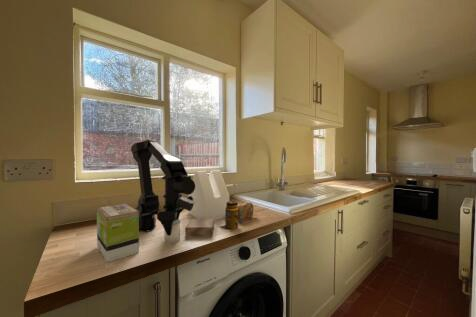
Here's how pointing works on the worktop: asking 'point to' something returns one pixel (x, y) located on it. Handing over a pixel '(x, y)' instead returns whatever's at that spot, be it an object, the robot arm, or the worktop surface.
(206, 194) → the white plastic jug
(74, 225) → the worktop surface
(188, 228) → the riser
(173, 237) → the canister
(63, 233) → the worktop surface
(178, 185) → the robot arm
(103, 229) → the tea box
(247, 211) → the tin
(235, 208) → the condiment
